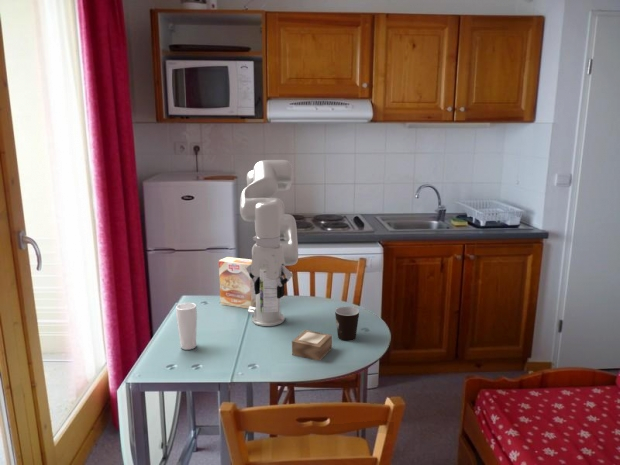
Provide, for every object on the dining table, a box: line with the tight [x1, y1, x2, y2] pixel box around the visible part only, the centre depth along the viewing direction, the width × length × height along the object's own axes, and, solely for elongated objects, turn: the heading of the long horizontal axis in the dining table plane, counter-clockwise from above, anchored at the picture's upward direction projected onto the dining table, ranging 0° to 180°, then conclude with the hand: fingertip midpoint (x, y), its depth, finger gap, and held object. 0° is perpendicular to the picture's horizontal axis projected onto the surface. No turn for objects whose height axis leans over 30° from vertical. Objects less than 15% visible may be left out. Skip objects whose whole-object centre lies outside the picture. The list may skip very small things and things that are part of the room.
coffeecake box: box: [218, 256, 256, 310], centre depth 207 cm, size 15×7×20 cm, turn 68°
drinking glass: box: [175, 302, 198, 351], centre depth 168 cm, size 7×7×15 cm
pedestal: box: [291, 329, 333, 362], centre depth 165 cm, size 10×10×5 cm
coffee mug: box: [334, 306, 360, 342], centre depth 177 cm, size 12×9×10 cm
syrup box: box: [260, 268, 278, 313], centre depth 156 cm, size 6×6×14 cm
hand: (269, 294), depth 157 cm, fingers closed on syrup box, 7 cm apart
